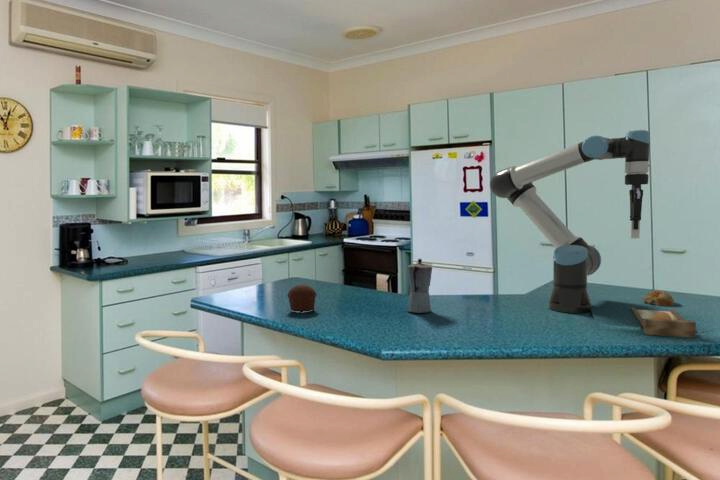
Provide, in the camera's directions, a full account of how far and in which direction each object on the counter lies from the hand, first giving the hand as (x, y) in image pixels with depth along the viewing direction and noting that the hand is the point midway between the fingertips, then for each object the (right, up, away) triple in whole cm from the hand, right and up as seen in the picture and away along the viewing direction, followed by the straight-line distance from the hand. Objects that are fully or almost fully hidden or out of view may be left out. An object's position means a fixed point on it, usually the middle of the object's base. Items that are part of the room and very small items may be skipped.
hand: (634, 238), depth 183 cm
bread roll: (+12, -26, +5) cm, 29 cm away
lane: (-2, -28, -19) cm, 34 cm away
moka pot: (-79, -28, +5) cm, 84 cm away
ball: (-6, -25, -26) cm, 37 cm away
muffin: (-124, -29, +11) cm, 127 cm away
